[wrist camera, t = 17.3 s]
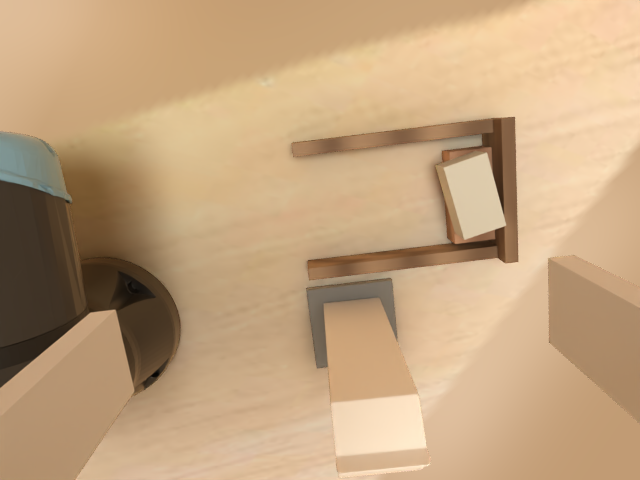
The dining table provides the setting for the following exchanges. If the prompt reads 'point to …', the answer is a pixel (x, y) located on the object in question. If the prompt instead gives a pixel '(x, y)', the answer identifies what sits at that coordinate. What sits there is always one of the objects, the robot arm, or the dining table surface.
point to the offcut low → (450, 230)
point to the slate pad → (345, 293)
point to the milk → (371, 393)
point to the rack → (503, 246)
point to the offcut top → (471, 194)
